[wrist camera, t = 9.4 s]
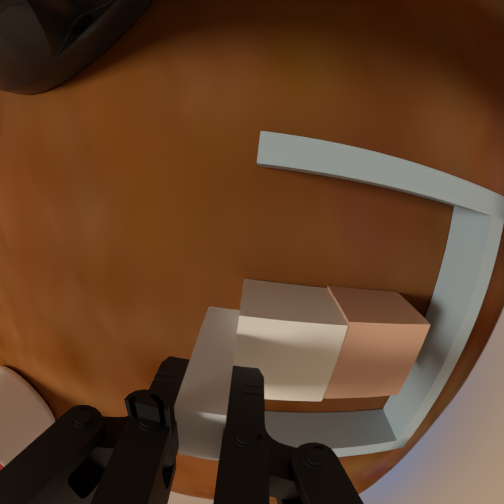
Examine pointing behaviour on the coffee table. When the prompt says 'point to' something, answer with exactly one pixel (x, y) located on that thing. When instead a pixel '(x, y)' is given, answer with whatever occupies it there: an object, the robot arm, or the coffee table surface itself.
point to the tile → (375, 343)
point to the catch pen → (442, 303)
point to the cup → (19, 415)
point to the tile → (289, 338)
